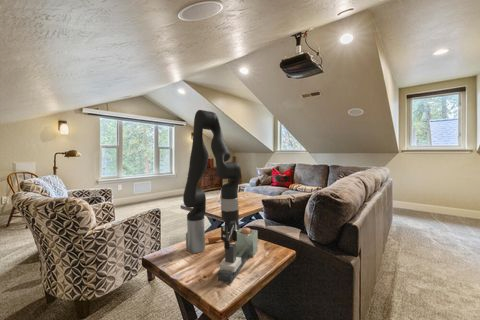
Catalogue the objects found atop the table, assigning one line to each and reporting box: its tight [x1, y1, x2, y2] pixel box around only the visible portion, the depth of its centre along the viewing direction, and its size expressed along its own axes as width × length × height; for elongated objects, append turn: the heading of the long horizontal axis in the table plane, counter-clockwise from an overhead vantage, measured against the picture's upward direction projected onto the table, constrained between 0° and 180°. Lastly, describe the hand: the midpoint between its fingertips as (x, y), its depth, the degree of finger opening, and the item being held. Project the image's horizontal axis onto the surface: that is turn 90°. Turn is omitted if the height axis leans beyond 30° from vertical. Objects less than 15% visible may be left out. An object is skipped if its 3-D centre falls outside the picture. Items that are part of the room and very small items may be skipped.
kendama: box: [207, 235, 232, 245], centre depth 130 cm, size 6×6×20 cm
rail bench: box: [217, 227, 259, 284], centre depth 104 cm, size 32×10×11 cm, turn 159°
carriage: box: [219, 243, 241, 273], centre depth 95 cm, size 8×7×11 cm
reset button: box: [242, 227, 251, 234], centre depth 114 cm, size 4×4×4 cm
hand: (231, 244), depth 95 cm, fingers open, 8 cm apart
